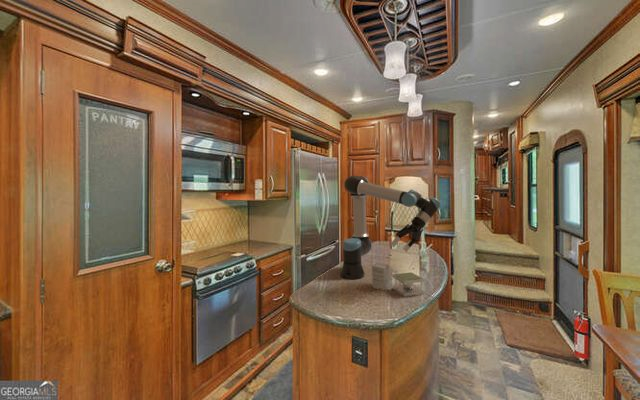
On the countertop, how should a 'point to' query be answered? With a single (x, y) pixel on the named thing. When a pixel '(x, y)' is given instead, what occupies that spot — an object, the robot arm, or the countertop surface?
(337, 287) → the countertop surface
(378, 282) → the supplement box
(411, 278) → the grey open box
